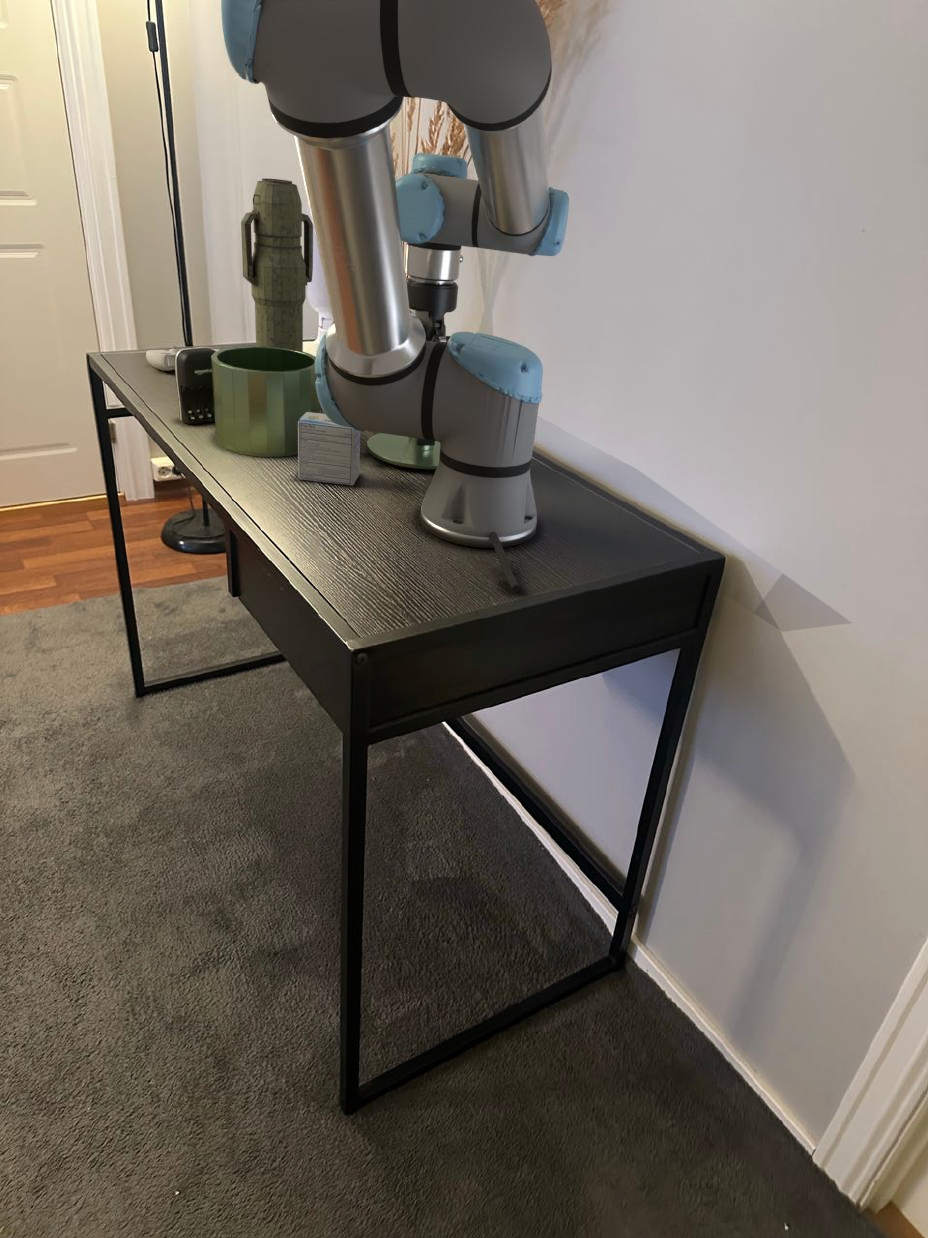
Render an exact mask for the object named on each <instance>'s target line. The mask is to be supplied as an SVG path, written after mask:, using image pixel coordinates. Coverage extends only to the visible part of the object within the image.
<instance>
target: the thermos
mask: <svg viewBox="0 0 928 1238" xmlns="http://www.w3.org/2000/svg"><path fill="white" fill-rule="evenodd" d="M302 206H303V204H302V199H301V195H300V192H299V188H298V185H297V184H295V183H293V181H292V180H288V179H281V178H280V179H279V178H261V180H257V181H256V185H255V189H254V193H253V197H252V209H251V212H246V213H244V216H243V218H242V220H241V221H240V230H241V231H240V232H241V233H240V234H241V256H242V259H241V260H242V261H241V262H242V277H243V278H244V279H245V280H246V281H247V282H248V283H250V284H251V296H252V299H253V301H254V316H255V318H254V319H255V321H254V323H255V346H270V347H281V348H288V349H294V350H299V351H302V352H304V313H303V312H304V303H305V300H306V295H307V294H306V286H308V283H312V282H313V275H314V274H313V272H314V226H313V221H312V219H311V217H310V216H309V214H306V213H303V207H302ZM252 223H253V225H252ZM252 226H253V233H254V242H252ZM302 236H303V246H302V245H301V244H302V243H301V242H302V241H301V240H302V239H301V238H302ZM252 243H253V244H252ZM252 245H253V246H252Z"/></svg>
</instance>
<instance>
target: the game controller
mask: <svg viewBox="0 0 928 1238" xmlns="http://www.w3.org/2000/svg"><path fill="white" fill-rule="evenodd" d="M170 347H171V348H170V349H169V350H165V349H148V350H147V351H146V352H145V353H146V354H145V358H146V360H147V362H148V364H150V366H152V367H153V368H155V369H157V370H159V371H165V372H170V371H173V370H175V355H176V353H177V352H178V351H179V350H180V349H179V348H178V345H171V346H170ZM212 349H213V350H214V351H216V352H217V351H220V350H221V349H219V348H212Z"/></svg>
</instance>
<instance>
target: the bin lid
mask: <svg viewBox="0 0 928 1238" xmlns="http://www.w3.org/2000/svg"><path fill="white" fill-rule="evenodd" d="M416 443H417V438H412V437H405V436H398V435H391V434H384V433H375V434H374V435H372V436H370V438H368V440H367V443H366V447H367V448H366V449H367V451H368V452H369V454H371V455H372V456H373V457H374V458H376V459H378V460H380V461H383V462H385V463H388V464H391V465H395V466H399V467H404V468H409V469H410V468H411V469H419V470H436V469H437V467H438V464H439V456H440V442H438V441H435V446H417V444H416Z"/></svg>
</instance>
